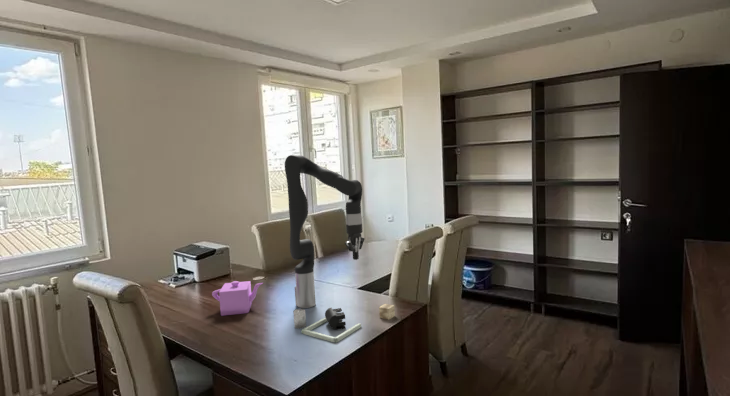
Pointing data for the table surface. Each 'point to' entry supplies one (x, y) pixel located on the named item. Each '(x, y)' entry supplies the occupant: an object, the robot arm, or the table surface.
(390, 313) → the maple block
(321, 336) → the pale green frame
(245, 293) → the teapot
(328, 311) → the end cap
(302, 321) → the grey metal tin
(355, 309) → the table surface
